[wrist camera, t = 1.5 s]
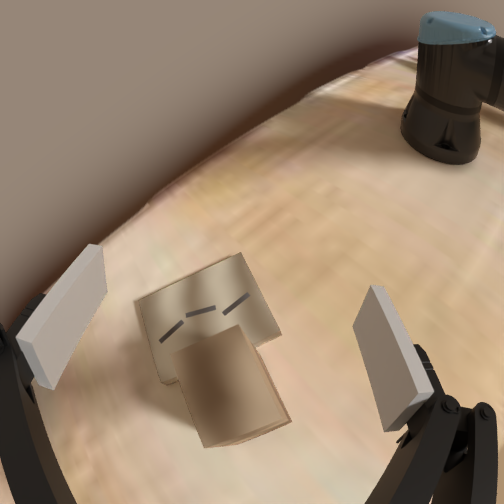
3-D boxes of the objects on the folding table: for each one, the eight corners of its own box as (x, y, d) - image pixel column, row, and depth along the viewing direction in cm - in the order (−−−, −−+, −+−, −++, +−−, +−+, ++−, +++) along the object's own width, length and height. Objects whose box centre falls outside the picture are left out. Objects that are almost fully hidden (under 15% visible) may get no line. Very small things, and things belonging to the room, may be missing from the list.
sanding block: (260, 355, 32) (238, 323, 24) (292, 421, 27) (281, 418, 19) (209, 377, 31) (170, 354, 23) (237, 444, 27) (204, 448, 19)
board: (243, 258, 39) (240, 252, 38) (281, 335, 33) (280, 330, 31) (144, 305, 38) (138, 300, 37) (166, 385, 32) (160, 382, 30)
